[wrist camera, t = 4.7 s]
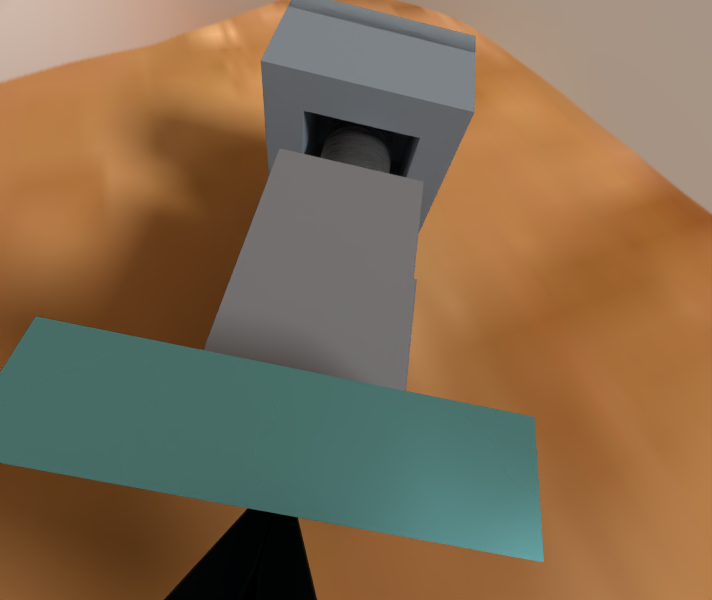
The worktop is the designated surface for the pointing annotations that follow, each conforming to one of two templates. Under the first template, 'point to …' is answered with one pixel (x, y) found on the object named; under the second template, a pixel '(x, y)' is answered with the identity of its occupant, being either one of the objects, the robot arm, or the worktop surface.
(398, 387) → the sleeve
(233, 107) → the worktop surface
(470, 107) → the socket
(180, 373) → the teal green slab
